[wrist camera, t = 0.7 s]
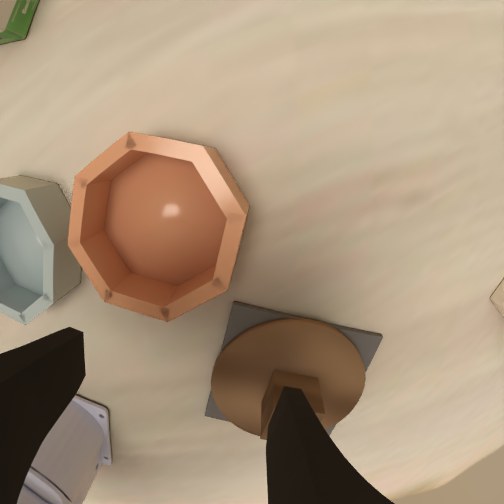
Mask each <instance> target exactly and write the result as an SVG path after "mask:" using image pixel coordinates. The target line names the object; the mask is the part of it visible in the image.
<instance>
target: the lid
mask: <svg viewBox="0 0 504 504" xmlns="http://www.w3.org/2000/svg"><path fill="white" fill-rule="evenodd" d="M364 385H365V368H364V364H363V361H362V359H361V356H360V354H359V352H358V350H357V348H356V346H355V345H354V343H353V342H352V341H351V340H350V339H349V338H348V337H347V336H346V335H345V334H343V333H342V332H341V331H339V330H338V329H336V328H334V327H333V326H330V325H328V324H326V323H323V322H320V321H316V320H312V319H306V318H281V319H276V320H270V321H267V322H263V323H260V324H257V325H255V326H252V327H250V328H248V329H246V330H245V331H243V332H241V333H240V334H238V335H237V336H236V337H234V338H233V339H232V340H231V341H230V342H229V343H228V344H227V345H226V346H225V347H224V348H223V350H222V351H221V352H220V354H219V356H218V358H217V360H216V363H215V366H214V369H213V374H212V380H211V390H212V395H213V398H214V401H215V403H216V405H217V407H218V409H219V410H220V411H221V413H222V414H223V415H224V416H225V417H226V418H227V419H228V420H229V421H230V422H231V423H233V424H234V425H236V426H237V427H239V428H241V429H242V430H244V431H247V432H249V433H251V434H254V435H258V436H260V439H264V440H267V432H268V424H269V422H270V420H271V417H272V415H273V412H274V410H275V407H276V405H277V402H278V400H279V397H280V395H281V392H282V390H283V387H284V386H287V387H293V388H299V389H302V391H303V392H304V394H305V396H306V398H307V400H308V401H309V403H310V405H311V407H312V409H313V410H314V412H315V414H316V416H317V417H318V419H319V421H320V422H321V424H322V425H323V427H324V429H325V430H326V429H328V428H330V427H332V426H333V425H335V424H337V423H338V422H339V421H341V420H342V419H343V418H344V417H346V416H347V415H348V414H349V413H350V412H351V410H352V409H353V408H354V407H355V405H356V404H357V402H358V401H359V399H360V397H361V395H362V392H363V389H364Z"/></svg>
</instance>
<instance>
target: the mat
mask: <svg viewBox="0 0 504 504" xmlns="http://www.w3.org/2000/svg"><path fill="white" fill-rule="evenodd" d="M281 318H302V317H298V316H293V315H289V314H285V313H281V312H276V311H272V310H268V309H264V308H260V307H256V306H252V305H248V304H244V303H240V302H236V301H234V304H233V307H232V311H231V315H230V319H229V323H228V327H227V331H226V334H225V338H224V342H223V346H222V350H223V348H224V347H225V346H226V345H227V344H228V343H229V342H230V341H231V340H232V339H233V338H234V337H236V336H237V335H238V334H240V333H241V332H243V331H245V330H246V329H248V328H250V327H252V326H255V325H257V324H260V323H263V322H267V321H270V320H276V319H281ZM306 319H307V318H306ZM323 323H325V322H323ZM326 324H328V325H330V326H333V327H334V328H336V329H338V330H339V331H341V332H342V333H343V334H345V335H346V336H347V337H348V338H349V339H350V340H351V341H352V342H353V343H354V345H355V346H356V348H357V350H358V352H359V354H360V356H361V359H362V361H363V364H364V368H365V372H366V370H367V368H368V366H369V364H370V362H371V361H372V359H373V357H374V354H375V352H376V350H377V348H378V346H379V344H380V342H381V340H382V338H383V337H382V335H381V334H378V333H373V332H368V331H363V330H358V329H353V328H348V327H343V326H339V325H334V324H329V323H326ZM222 350H221V351H222ZM205 416H207V417H211V418H216V419H220V420H224V421H229V420H228V419H227V418H226V417H225V416H224V415H223V414H222V413H221V411H220V410H219V409H218V407H217V405H216V403H215V401H214V398H213V395H212V390H211V393H210V397H209V401H208V404H207V408H206V412H205ZM229 422H230V421H229ZM335 425H336V424H335ZM335 425H333V426H332V427H330V428H328V429H326V432H327V433H328V435H330V434H331V432H332V430H333V429H334V427H335Z"/></svg>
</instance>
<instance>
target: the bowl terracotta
mask: <svg viewBox="0 0 504 504" xmlns="http://www.w3.org/2000/svg"><path fill="white" fill-rule="evenodd" d="M249 207H250V205H249V203H248V201H247V200H246V198H245V196H244V195H243V193H242V192H241V190H240V188H239V187H238V185H237V183H236V182H235V180H234V178H233V177H232V175H231V173H230V172H229V170H228V168H227V167H226V165H225V164H224V162H223V160H222V159H221V157H220V155H219V154H218V152H217V151H216V149H215V148H211V147H207V146H202V145H197V144H193V143H188V142H183V141H178V140H173V139H167V138H162V137H157V136H152V135H146V134H140V133H133V132H128V133H127V134H125V135H124V136H123V137H121V138H120V139H119V140H118V141H116V142H115V143H114V144H113V145H111V146H110V147H109V148H108V149H106V150H105V151H104V152H103V153H102V154H100V155H99V156H98V157H97V158H96V159H94V160H93V161H92V162H91V163H90V164H88V165H87V166H86V167H85V168H84V169H83V170H82V171H80V172H79V173H78V174H77V175H76V176H75V180H74V187H73V195H72V203H71V213H70V223H69V235H68V246H69V248H70V249H71V251H72V253H73V254H74V256H75V257H76V259H77V261H78V262H79V264H80V265H81V267H82V269H83V270H84V272H85V273H86V275H87V276H88V278H89V279H90V281H91V282H92V284H93V285H94V287H95V288H96V290H97V291H98V293H99V294H100V296H101V297H102V299H103V300H104V302H107V303H110V304H113V305H116V306H119V307H122V308H125V309H128V310H131V311H134V312H137V313H140V314H144V315H147V316H150V317H153V318H157V319H160V320H163V321H167V322H168V321H170V320H172V319H174V318H176V317H178V316H180V315H182V314H184V313H186V312H187V311H189V310H191V309H193V308H195V307H197V306H199V305H201V304H203V303H205V302H206V301H208V300H210V299H212V298H214V297H216V296H218V295H220V294H222V293H223V292H225V291H227V290H228V287H229V283H230V280H231V276H232V273H233V270H234V266H235V262H236V258H237V254H238V250H239V246H240V242H241V238H242V234H243V230H244V226H245V222H246V218H247V214H248V211H249Z"/></svg>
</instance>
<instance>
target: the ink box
mask: <svg viewBox="0 0 504 504" xmlns="http://www.w3.org/2000/svg"><path fill="white" fill-rule="evenodd" d="M38 2H39V0H0V44H4V43H8V42H12V41H17V40H24V39H25V38H26V34H27V32H28V29H29V26H30V23H31V20H32V17H33V14H34V12H35V9H36V7H37V4H38Z"/></svg>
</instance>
